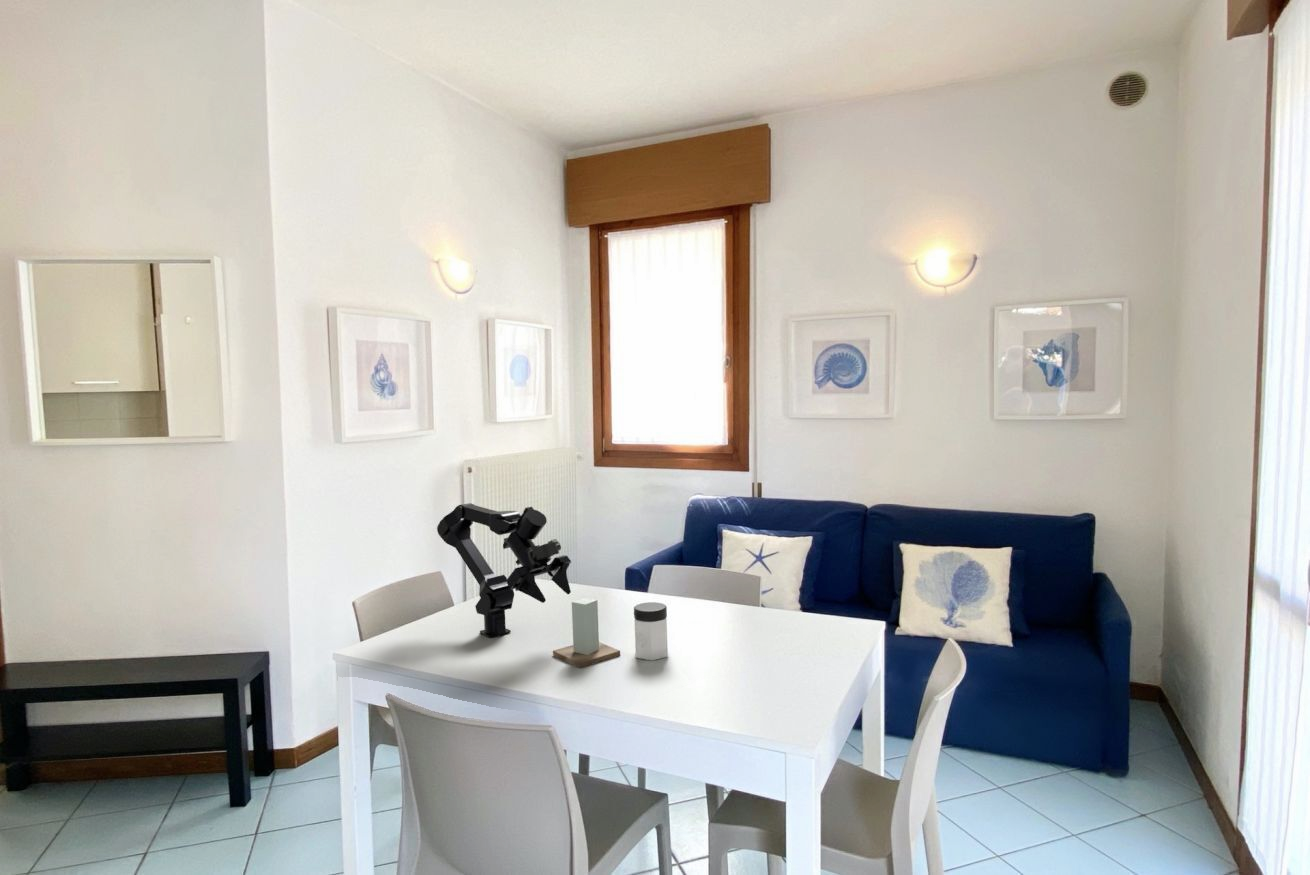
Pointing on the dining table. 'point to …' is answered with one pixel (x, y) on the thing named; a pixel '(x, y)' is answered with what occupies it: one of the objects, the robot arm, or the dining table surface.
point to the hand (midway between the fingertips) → (557, 597)
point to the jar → (651, 631)
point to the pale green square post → (585, 626)
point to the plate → (585, 660)
